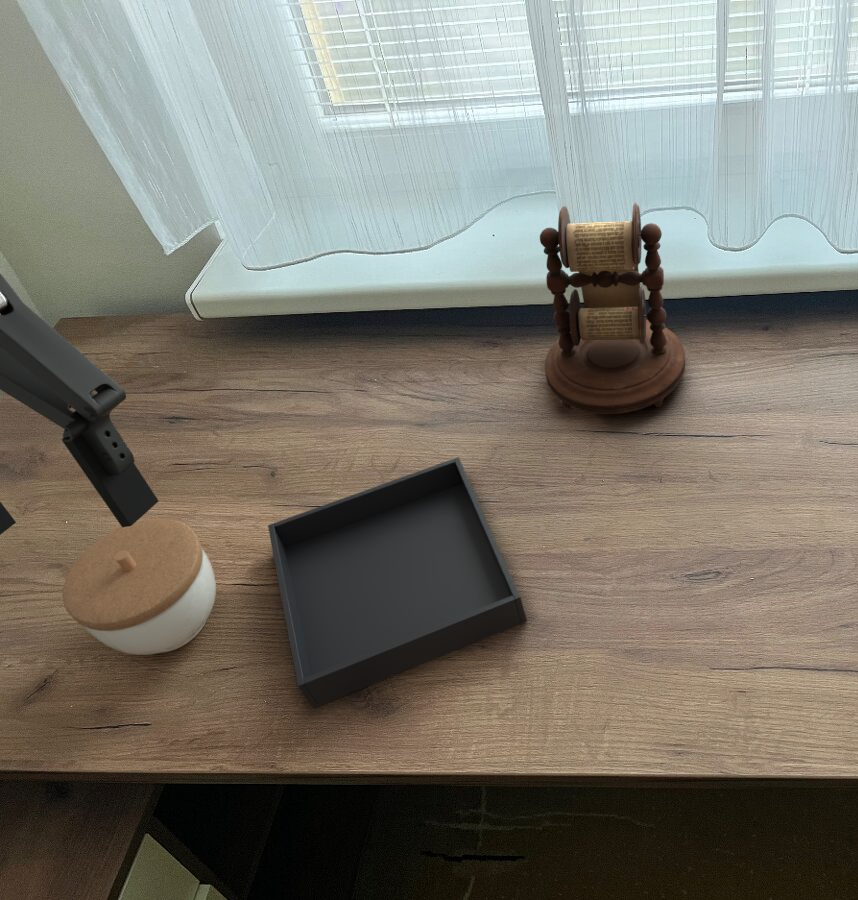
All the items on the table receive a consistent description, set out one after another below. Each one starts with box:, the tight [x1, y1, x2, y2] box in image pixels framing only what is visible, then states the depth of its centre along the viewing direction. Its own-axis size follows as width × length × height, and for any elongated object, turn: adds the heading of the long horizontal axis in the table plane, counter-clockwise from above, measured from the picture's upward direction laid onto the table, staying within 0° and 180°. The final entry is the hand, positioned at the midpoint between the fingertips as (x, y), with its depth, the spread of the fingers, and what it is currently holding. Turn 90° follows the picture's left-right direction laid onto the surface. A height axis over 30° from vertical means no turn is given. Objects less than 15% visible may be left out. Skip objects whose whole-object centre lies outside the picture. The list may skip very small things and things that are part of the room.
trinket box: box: [62, 518, 217, 656], centre depth 73 cm, size 11×11×9 cm
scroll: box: [539, 202, 686, 415], centre depth 86 cm, size 15×15×20 cm
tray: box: [267, 456, 528, 709], centre depth 75 cm, size 18×18×3 cm
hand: (66, 525), depth 58 cm, fingers open, 13 cm apart
